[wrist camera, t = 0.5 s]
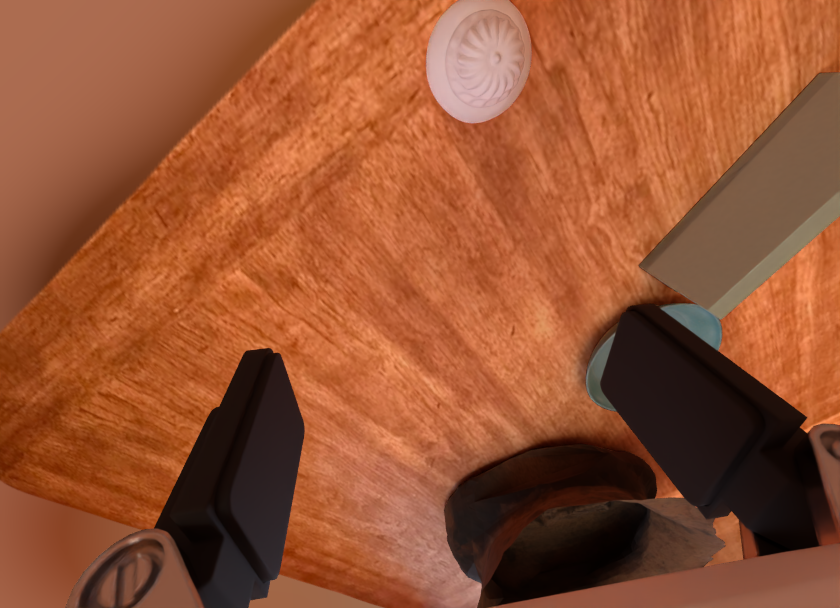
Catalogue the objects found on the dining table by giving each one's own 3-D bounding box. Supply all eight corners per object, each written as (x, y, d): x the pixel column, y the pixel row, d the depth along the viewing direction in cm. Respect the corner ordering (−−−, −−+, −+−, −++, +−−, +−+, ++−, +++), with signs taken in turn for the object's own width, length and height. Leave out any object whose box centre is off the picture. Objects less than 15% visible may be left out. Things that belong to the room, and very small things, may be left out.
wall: (819, 72, 26) (977, 66, 19) (845, 111, 28) (999, 118, 21) (637, 265, 33) (707, 310, 26) (668, 286, 35) (741, 333, 28)
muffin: (497, 124, 25) (537, 135, 19) (413, 113, 24) (428, 120, 18) (520, 15, 22) (577, -13, 16) (424, -4, 21) (448, -42, 15)
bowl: (403, 463, 47) (419, 593, 33) (634, 371, 46) (747, 467, 33) (473, 580, 62) (504, 700, 49) (648, 513, 62) (727, 617, 48)
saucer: (698, 369, 42) (716, 384, 40) (581, 410, 43) (592, 427, 41) (708, 269, 34) (732, 281, 32) (565, 323, 36) (578, 339, 33)
